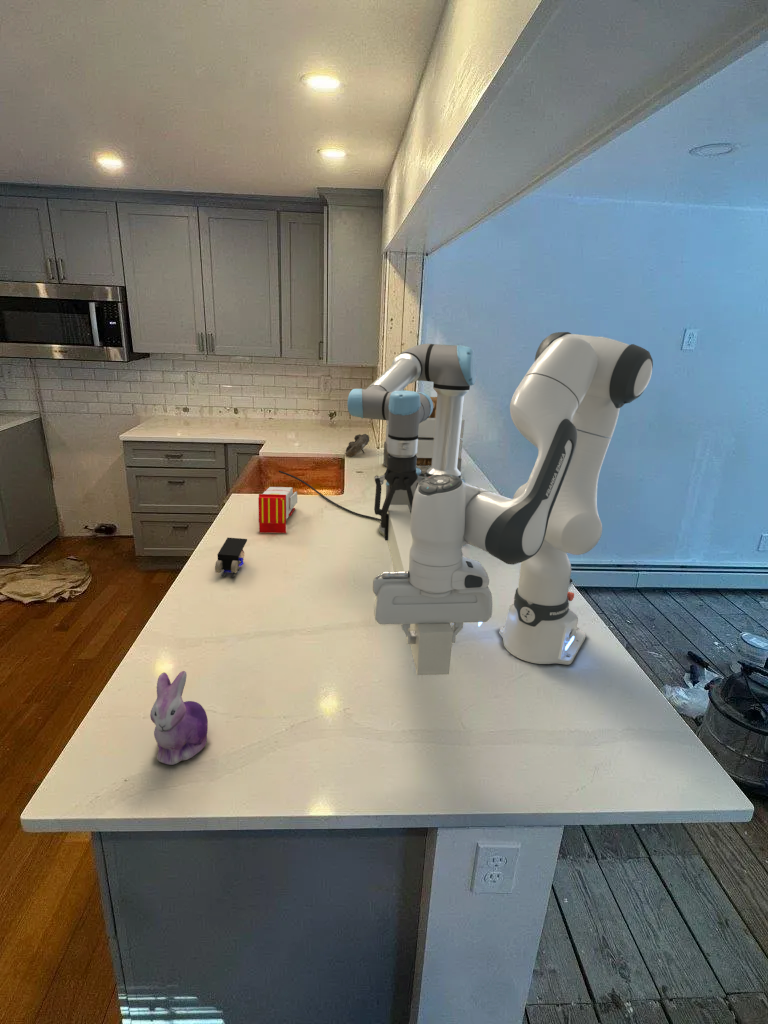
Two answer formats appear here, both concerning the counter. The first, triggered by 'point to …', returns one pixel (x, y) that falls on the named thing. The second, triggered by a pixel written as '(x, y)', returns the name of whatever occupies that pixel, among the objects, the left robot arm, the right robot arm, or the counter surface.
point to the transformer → (426, 440)
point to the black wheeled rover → (230, 556)
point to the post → (430, 637)
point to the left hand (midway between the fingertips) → (397, 538)
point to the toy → (276, 509)
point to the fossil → (357, 445)
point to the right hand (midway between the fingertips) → (430, 641)
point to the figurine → (177, 722)
